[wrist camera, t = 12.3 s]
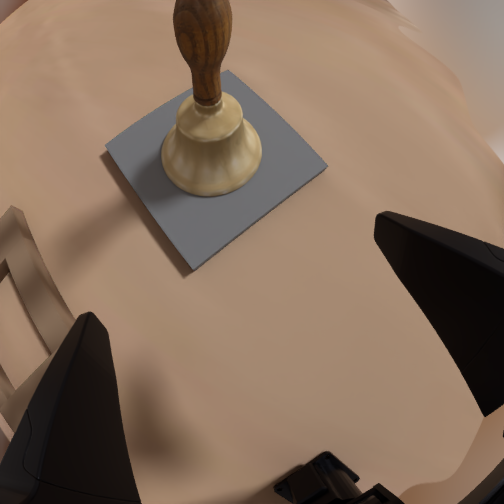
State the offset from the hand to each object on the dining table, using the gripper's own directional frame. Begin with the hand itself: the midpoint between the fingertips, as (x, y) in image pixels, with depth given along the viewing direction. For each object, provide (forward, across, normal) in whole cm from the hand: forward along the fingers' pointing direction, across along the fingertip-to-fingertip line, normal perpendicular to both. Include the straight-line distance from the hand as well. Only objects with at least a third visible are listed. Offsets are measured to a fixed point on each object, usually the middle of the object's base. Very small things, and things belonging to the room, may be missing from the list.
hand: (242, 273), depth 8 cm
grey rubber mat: (+17, -2, +2) cm, 18 cm away
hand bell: (+17, -2, +1) cm, 17 cm away
